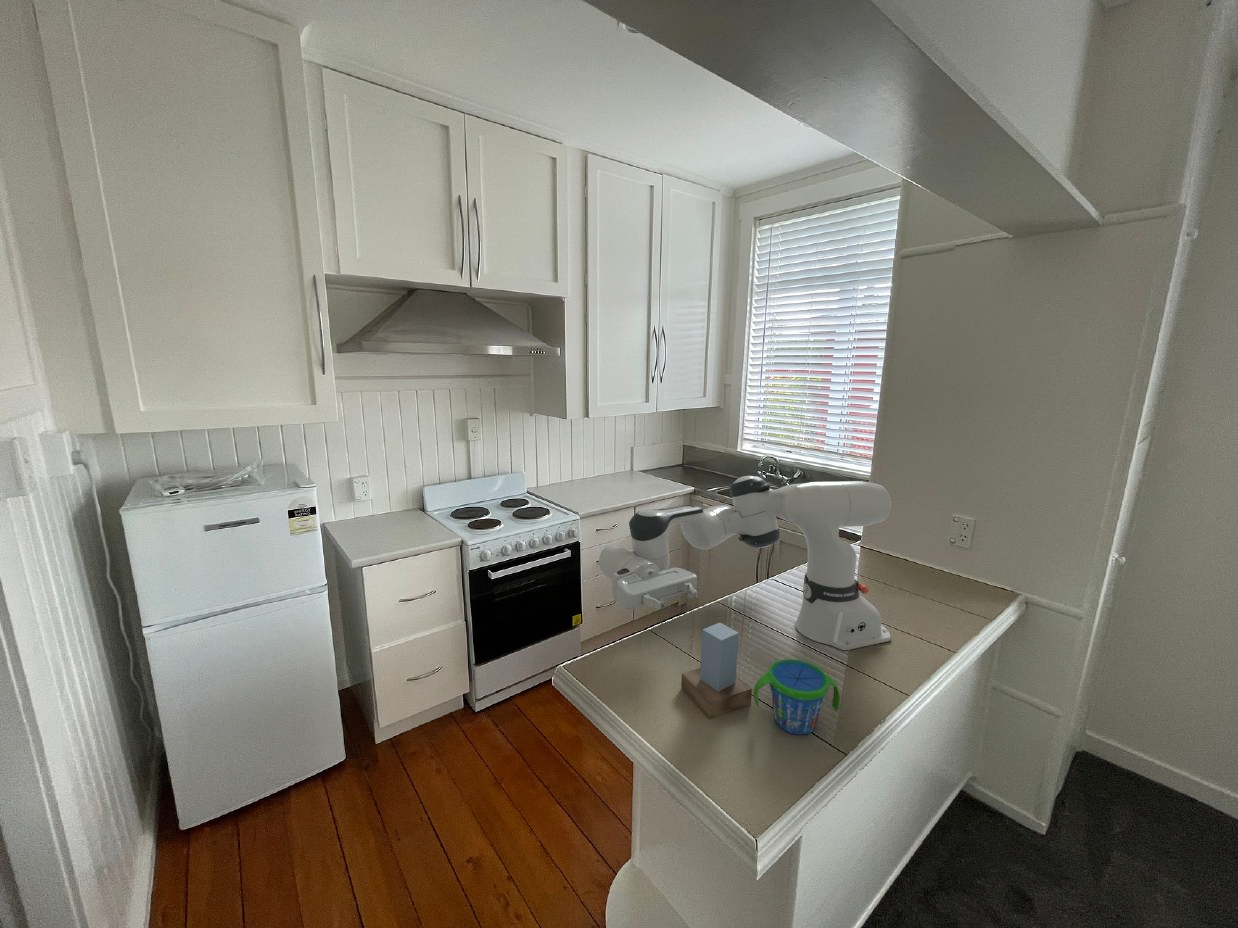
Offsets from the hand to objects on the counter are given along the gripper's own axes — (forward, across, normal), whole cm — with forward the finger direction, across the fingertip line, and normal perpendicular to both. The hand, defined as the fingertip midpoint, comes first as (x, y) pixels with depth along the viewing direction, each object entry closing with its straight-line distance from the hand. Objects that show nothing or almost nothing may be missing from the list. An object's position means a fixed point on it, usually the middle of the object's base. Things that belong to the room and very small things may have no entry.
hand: (678, 600), depth 111 cm
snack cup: (+26, -7, -16) cm, 32 cm away
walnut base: (+13, 0, -16) cm, 21 cm away
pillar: (+13, 0, -12) cm, 18 cm away
